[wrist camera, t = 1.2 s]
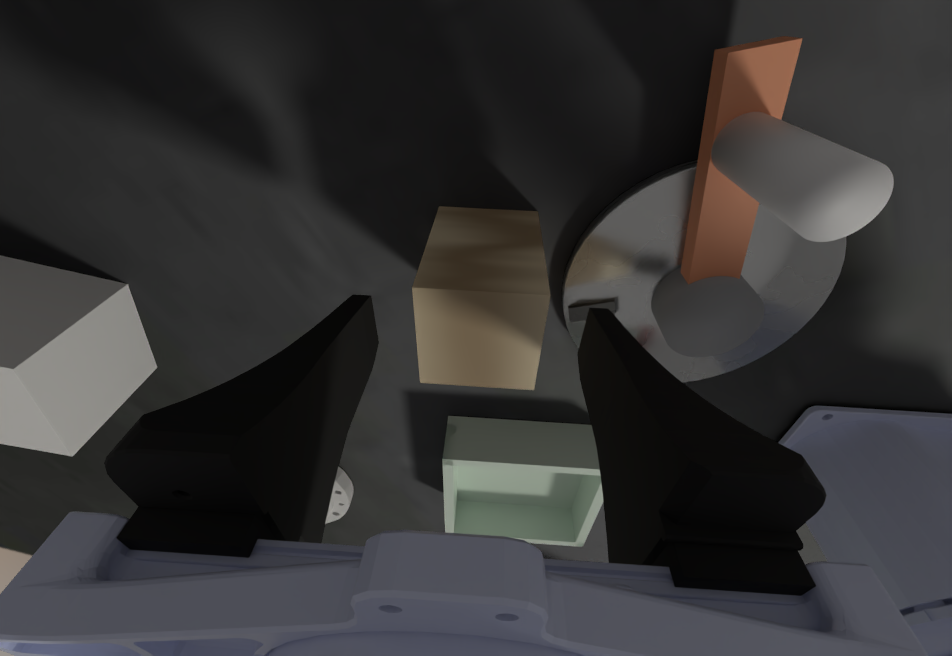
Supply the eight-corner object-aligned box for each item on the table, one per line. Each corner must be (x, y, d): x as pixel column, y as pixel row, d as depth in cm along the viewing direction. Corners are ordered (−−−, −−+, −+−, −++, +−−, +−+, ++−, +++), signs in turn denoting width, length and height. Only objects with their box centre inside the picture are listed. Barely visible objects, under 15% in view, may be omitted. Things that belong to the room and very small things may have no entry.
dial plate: (900, 162, 14) (921, 171, 14) (755, 378, 21) (764, 392, 20) (588, 147, 15) (592, 155, 14) (546, 365, 21) (547, 378, 21)
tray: (606, 425, 24) (617, 470, 22) (576, 504, 30) (582, 546, 28) (448, 415, 25) (442, 458, 22) (450, 496, 31) (445, 536, 28)
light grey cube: (129, 282, 20) (14, 369, 15) (158, 366, 23) (73, 456, 19) (-7, 252, 19) (-172, 333, 14) (46, 343, 23) (-72, 432, 18)
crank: (732, 325, 18) (808, 434, 13) (647, 334, 18) (693, 440, 14) (813, 28, 11) (1016, 46, 7) (677, 55, 12) (783, 88, 7)
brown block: (538, 211, 16) (550, 295, 12) (527, 293, 19) (533, 390, 14) (439, 206, 16) (412, 287, 12) (441, 288, 19) (420, 382, 14)
